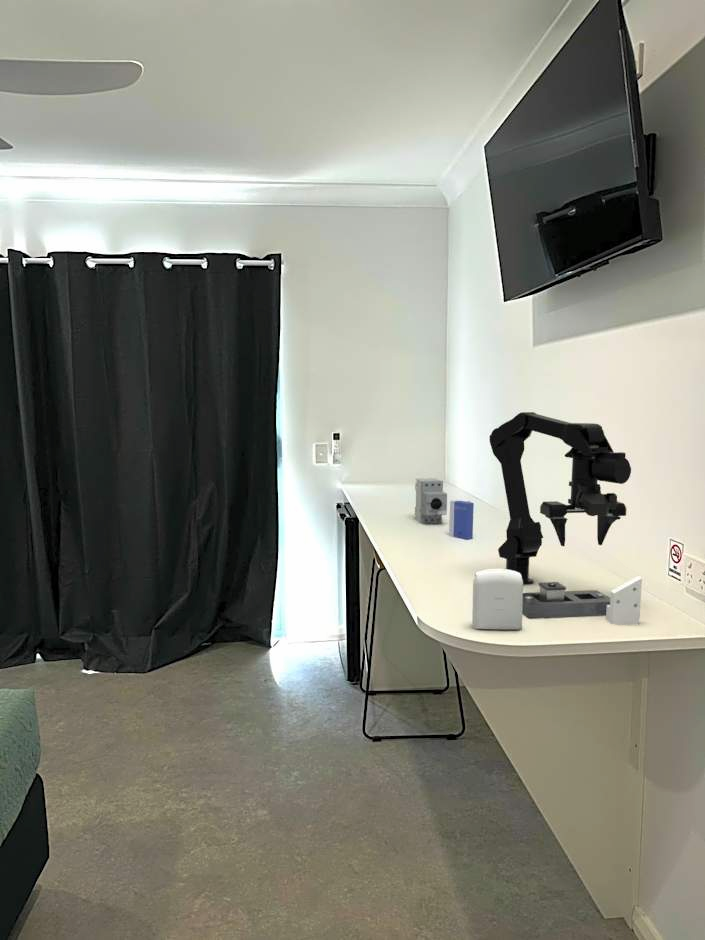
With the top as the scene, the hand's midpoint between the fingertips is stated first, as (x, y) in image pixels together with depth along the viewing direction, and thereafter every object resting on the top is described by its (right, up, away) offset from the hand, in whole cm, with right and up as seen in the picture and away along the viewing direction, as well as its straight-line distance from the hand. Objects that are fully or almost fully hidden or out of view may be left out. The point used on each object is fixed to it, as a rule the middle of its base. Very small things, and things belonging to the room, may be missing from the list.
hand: (581, 545), depth 175 cm
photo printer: (-23, -15, -18) cm, 33 cm away
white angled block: (+5, -15, -14) cm, 21 cm away
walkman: (-18, -5, +70) cm, 72 cm away
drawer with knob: (-9, -14, -7) cm, 18 cm away
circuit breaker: (-25, -2, +94) cm, 97 cm away
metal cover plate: (-6, -14, -6) cm, 16 cm away
